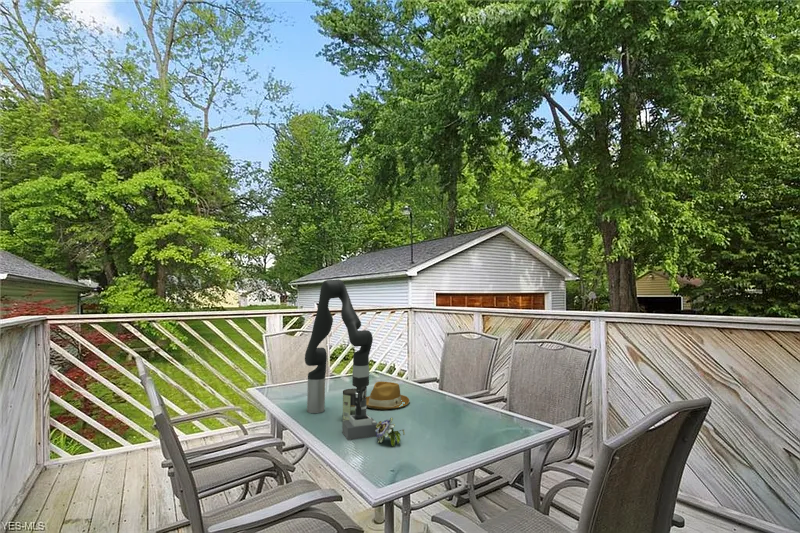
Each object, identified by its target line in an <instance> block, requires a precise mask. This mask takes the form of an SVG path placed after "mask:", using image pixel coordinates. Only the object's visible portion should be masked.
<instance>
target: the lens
mask: <svg viewBox="0 0 800 533" xmlns="http://www.w3.org/2000/svg"><path fill="white" fill-rule="evenodd" d="M360 399H361V398H360ZM357 403H359V402H357ZM367 408H368V407H367V405H366V399H363V401H362V404H361V415H356V406H355V420H361V419H366V414H367Z"/></svg>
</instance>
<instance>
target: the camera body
mask: <svg viewBox="0 0 800 533" xmlns="http://www.w3.org/2000/svg"><path fill="white" fill-rule="evenodd" d="M341 423H342V426H341V428H342V430H341V431H342V432H341V433H342V434H343V435H344V437H345V438H346V440H347V441H350V440H357V439H358V440H359V439H364V438H365V439H366V438H373V437H377V434H376V431H375V430H376V426H377V424H378V423H379V422H377V420H375V418H373V417H370V416H369V415H368V413H366V419H361V420H355V415H349V420H347V421H343V420H342V422H341Z"/></svg>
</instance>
